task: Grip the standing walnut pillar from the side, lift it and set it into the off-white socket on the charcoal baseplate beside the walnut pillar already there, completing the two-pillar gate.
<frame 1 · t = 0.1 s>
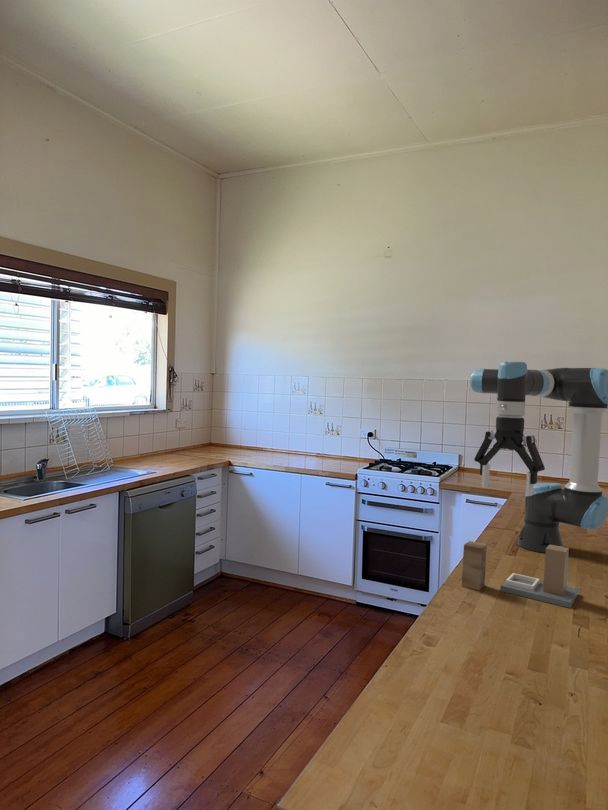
hand: (506, 491, 159), 28 cm above the countertop, tool pointing down, fingers open, 13 cm apart
pillar: (473, 585, 160), on the countertop
baseplate: (539, 592, 157), on the countertop
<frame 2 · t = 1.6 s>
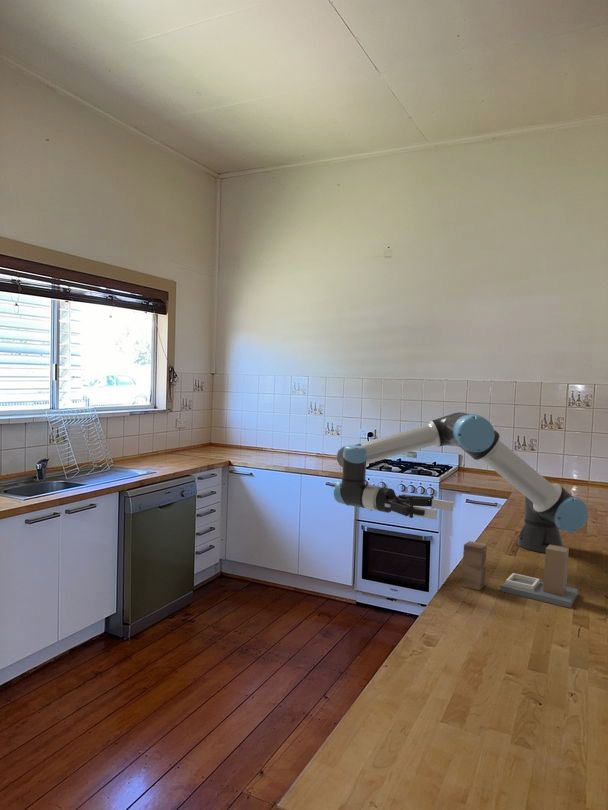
hand: (444, 510, 165), 20 cm above the countertop, tool horizontal, fingers open, 13 cm apart
nothing on the countertop moved.
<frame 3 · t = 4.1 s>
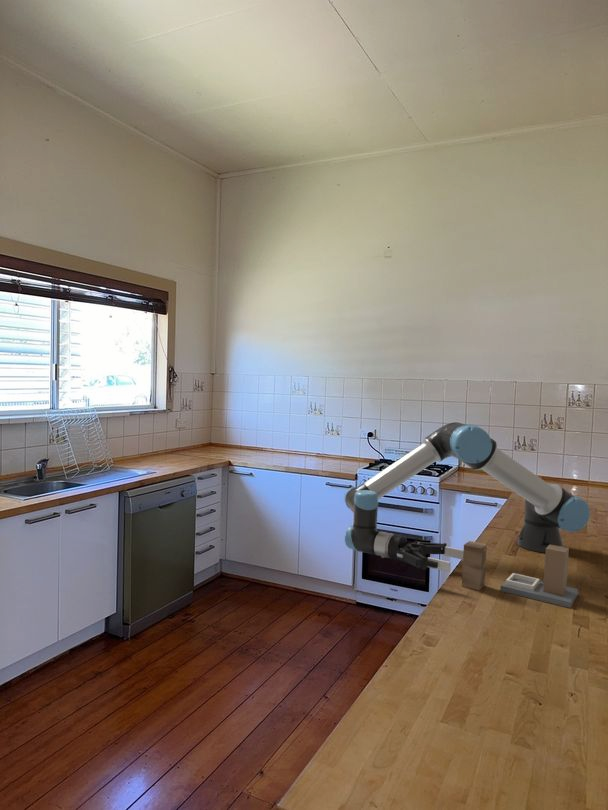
hand: (458, 561, 162), 6 cm above the countertop, tool horizontal, fingers open, 13 cm apart
nothing on the countertop moved.
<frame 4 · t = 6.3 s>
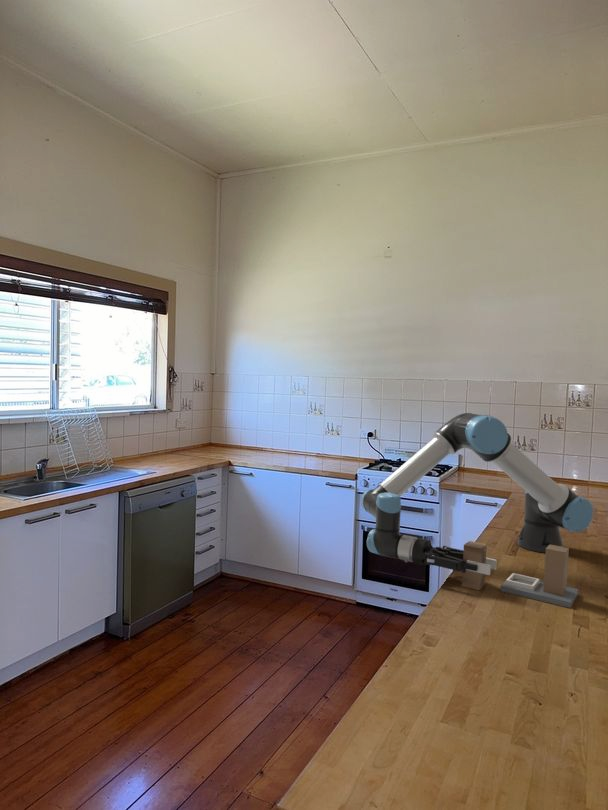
hand: (493, 567, 157), 7 cm above the countertop, tool horizontal, fingers closed on pillar, 5 cm apart
pillar: (473, 585, 160), on the countertop, touching gripper
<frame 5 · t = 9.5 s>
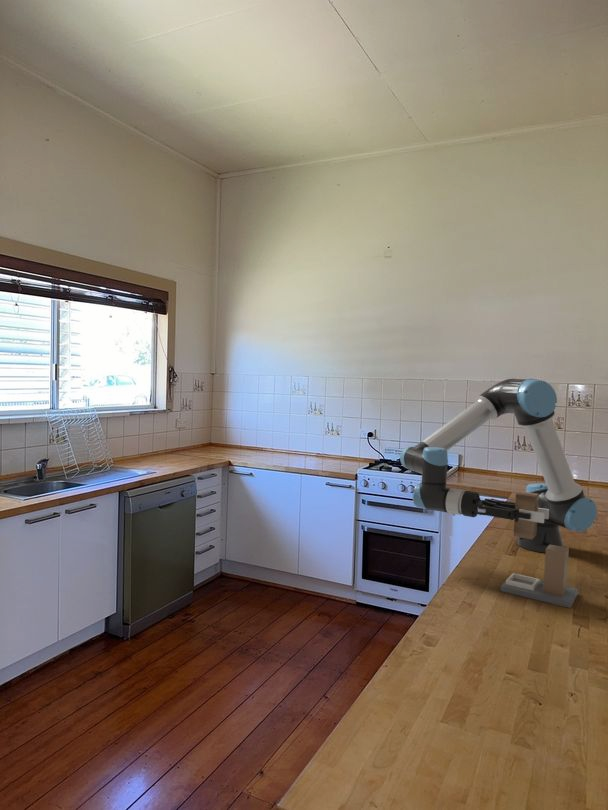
hand: (546, 516, 155), 22 cm above the countertop, tool horizontal, fingers closed on pillar, 5 cm apart
pillar: (524, 535, 159), point 15 cm above the countertop, touching gripper
when the fingers open (9 cm above the countertop, at t = 12.8 s): pillar stays where it is, resting on baseplate.
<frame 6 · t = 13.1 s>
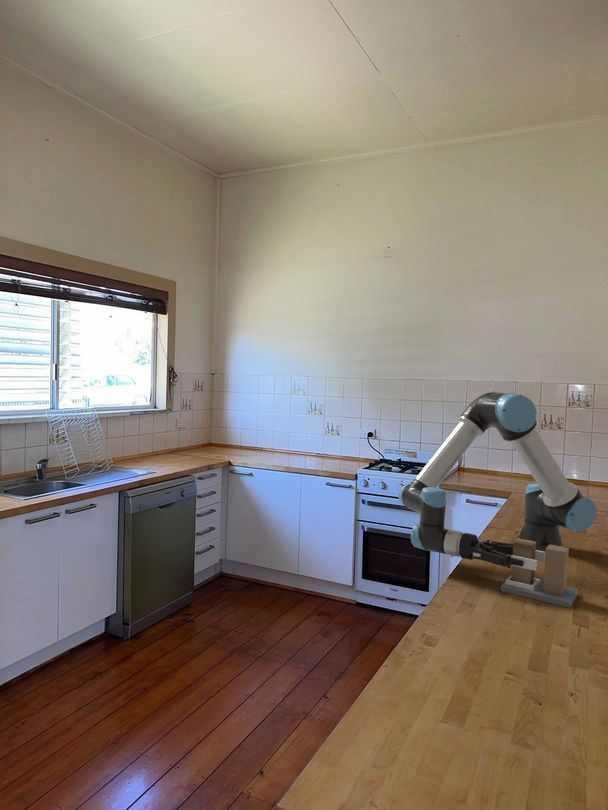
hand: (540, 561, 157), 9 cm above the countertop, tool horizontal, fingers open, 9 cm apart
pillar: (522, 583, 160), point 2 cm above the countertop, touching baseplate
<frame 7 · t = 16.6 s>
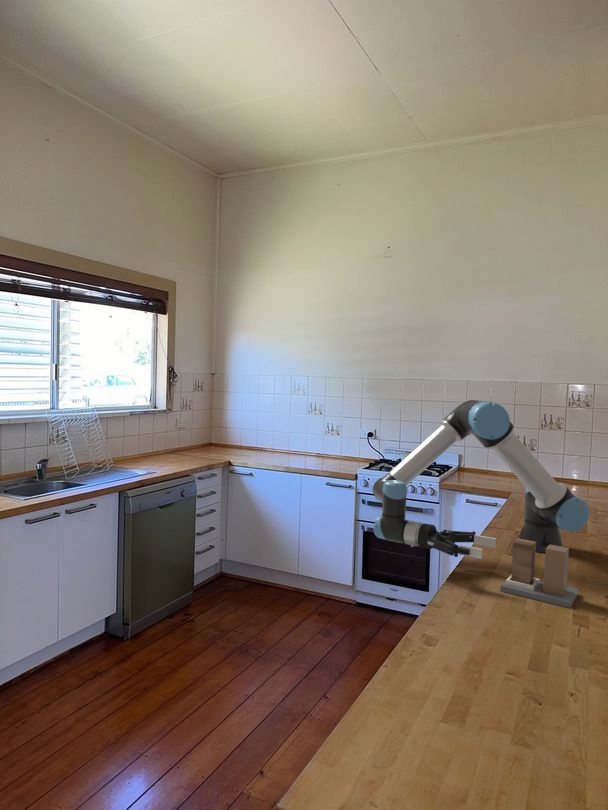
hand: (489, 548, 165), 10 cm above the countertop, tool horizontal, fingers open, 13 cm apart
nothing on the countertop moved.
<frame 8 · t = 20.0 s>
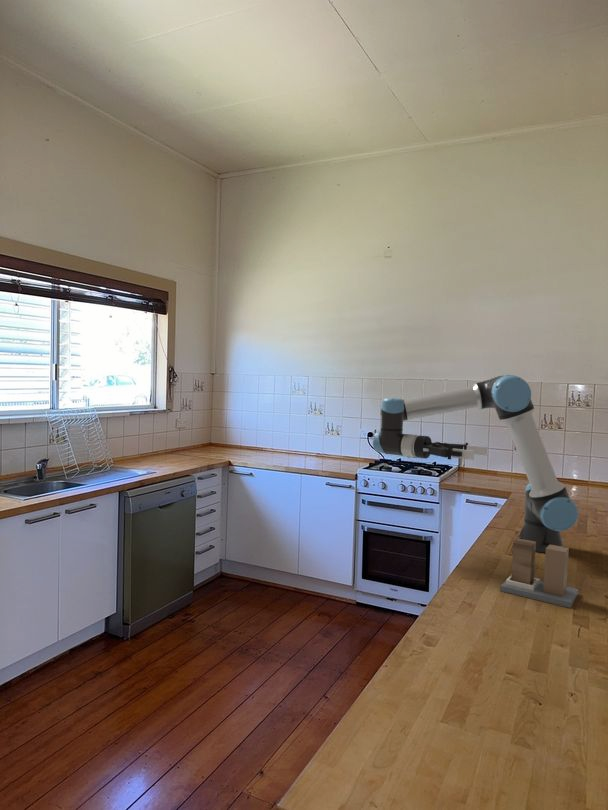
hand: (480, 453, 176), 36 cm above the countertop, tool horizontal, fingers open, 13 cm apart
nothing on the countertop moved.
at the end: pillar 0.0 cm from the target spot on the baseplate, point 1.5 cm above the baseplate's base; pillar tilted 0°; the gripper is holding nothing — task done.
